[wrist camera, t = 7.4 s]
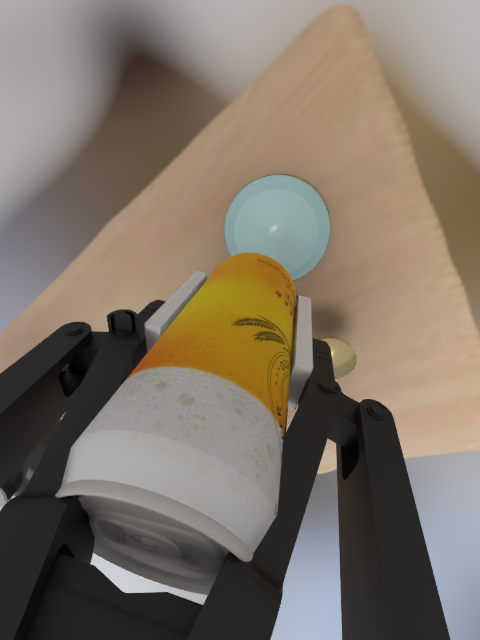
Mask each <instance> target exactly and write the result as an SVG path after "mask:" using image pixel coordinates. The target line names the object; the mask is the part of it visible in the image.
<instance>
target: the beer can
mask: <svg viewBox="0 0 480 640" xmlns="http://www.w3.org/2000/svg"><path fill="white" fill-rule="evenodd" d="M295 303H296V290H295V285H294V282H293V280H292V278H291V276H290V274H289V273H288V271H287V270H286V269H285V268H284V267H283V266H282V265H281V264H280V263H279V262H277V261H276V260H274V259H272V258H270V257H268V256H266V255H263V254H258V253H240V254H236V255H233V256H231V257H229V258H227V259H225V260H224V261H223V262H222V263H220V264H219V266H218V267H217V268H216V269H215V270H214V272H213V273H212V274H211V275H210V276H209V278H208V279H207V280H206V281H205V283H204V284H203V285H202V286H201V288H200V289H199V290H198V291H197V292H196V294H195V295H194V296H193V297H192V299H191V300H190V301H189V302H188V304H187V305H186V306H185V307H184V309H183V310H182V311H181V312H180V313H179V315H178V316H177V317H176V318H175V320H174V321H173V322H172V323H171V325H170V326H169V327H168V328H167V329H166V331H165V332H164V333H163V334H162V336H161V337H160V338H159V339H158V341H157V342H156V343H155V344H154V346H153V347H152V348H151V349H150V350H149V352H148V353H147V354H146V355H145V357H144V358H143V359H142V360H141V362H140V363H139V364H138V365H137V366H136V368H135V369H134V370H133V371H132V373H131V374H130V375H129V376H128V378H127V379H126V380H125V381H124V383H123V384H122V385H121V386H120V387H119V389H118V390H117V391H116V392H115V394H114V395H113V396H112V397H111V399H110V400H109V401H108V402H107V403H106V405H105V406H104V407H103V408H102V410H101V411H100V412H99V413H98V415H97V416H96V417H95V418H94V420H93V421H92V422H91V423H90V424H89V426H88V427H87V428H86V429H85V431H84V432H83V433H82V434H81V436H80V437H79V438H78V439H77V440H76V442H75V443H74V444H73V446H72V447H71V450H70V454H69V457H68V461H67V465H66V469H65V473H64V477H63V481H62V485H61V488H60V489H59V491H58V492H57V493H56V495H55V496H56V497H57V498H62V497H65V496H71V495H80V496H79V498H78V501H80V503H81V505H82V507H83V509H85V510H86V512H87V514H88V517H89V524H90V526H91V528H92V531H93V535H94V536H95V541H94V549H93V553H95V554H96V555H98V556H100V557H102V558H104V559H105V560H107V561H109V562H111V563H113V564H115V565H117V566H119V567H121V568H123V569H126V570H128V571H130V572H132V573H135V574H137V575H139V576H142V577H144V578H147V579H150V580H152V581H155V582H158V583H161V584H164V585H167V586H171V587H174V588H177V589H181V590H185V591H189V592H194V593H199V594H205V595H208V594H209V592H210V590H211V588H212V586H213V584H214V582H215V580H216V578H217V575H218V573H219V571H220V569H221V567H222V565H223V563H224V561H225V559H226V557H227V555H228V553H229V551H230V552H232V553H233V554H234V555H235V556H236V557H238V558H239V559H240V560H242V561H244V562H249V561H251V560H252V558H253V553H254V552H255V550H256V549H257V547H258V545H259V544H260V542H261V540H262V539H263V537H264V535H265V534H266V532H267V531H268V529H269V527H270V526H271V524H272V522H273V521H274V519H275V517H276V516H277V511H278V499H279V487H280V474H281V462H282V450H283V438H284V436H285V434H286V425H287V412H288V398H289V384H290V371H291V357H292V343H293V330H294V316H295Z"/></svg>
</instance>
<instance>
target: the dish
mask: <svg viewBox="0 0 480 640" xmlns="http://www.w3.org/2000/svg"><path fill="white" fill-rule="evenodd" d="M224 233H225V241H226V246H227V249H228V251H229V254H230V256H233V255H236V254H240V253H258V254H263V255H266V256H268V257H270V258H272V259H274V260H276V261H277V262H279V263H280V264H281V265H282V266H283V267H284V268H285V269H286V270H287V271H288V273H289V274H290V276H291V278H292V280H296V279H298V278H300V277H302V276H304V275H305V274H307V273H308V272H309V271H311V270H312V269H313V268H314V267H315V266H316V265H317V263H318V262H319V261H320V260H321V258H322V256H323V254H324V253H325V250H326V248H327V245H328V241H329V236H330V220H329V215H328V211H327V208H326V206H325V204H324V201H323V200H322V198H321V197H320V195H319V194H318V193H317V191H316V190H315V189H314V188H313V187H312V186H310V185H309V184H308V183H306V182H305V181H303V180H301V179H299V178H296V177H293V176H289V175H270V176H266V177H263V178H260V179H258V180H256V181H254V182H252V183H250V184H249V185H247V186H246V187H245V188H244V189H242V190H241V191H240V192H239V194H238V195H237V196H236V197H235V199H234V200H233V202H232V203H231V205H230V207H229V210H228V212H227V216H226V220H225V228H224Z"/></svg>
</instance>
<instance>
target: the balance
mask: <svg viewBox="0 0 480 640" xmlns="http://www.w3.org/2000/svg"><path fill="white" fill-rule="evenodd" d="M297 300H298V296H296V303H297ZM296 303H295V306H296ZM318 340H322V341H326V342H327V344H328V345H329V347H330V348H331V354H332V355H331V356H332V362H333V370H334V378H335V379H336V378H340V377H343V376H345V375H347V374H349V373H350V372H351V371H352V370H353V368H354V367H355V365H356V354H355V351H354V349H353V347H352V346H351V345H350V344H349V343H348V342H346V341H344V340H342V339H339V338H335V337H324V338H320V339H318Z"/></svg>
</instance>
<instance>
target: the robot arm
mask: <svg viewBox="0 0 480 640" xmlns="http://www.w3.org/2000/svg"><path fill="white" fill-rule="evenodd" d="M206 280H207V273H204V272H200V271H195V272H194V273H193V274H192V275H191V276H190V277H189V278H188V279H187V280H186V281H185V282H184V283H183V285H182V286H181V287H180V288H179V289H178V290H177V291H176V292H175V293H174V294H173V295H172V296H171V297H170V298H169V299H168V300H167V301H162V300H156V301H153V302H151V303H149V304H148V305H147V306H146V307H145V309H143V310H142V311H141V312H140V313H139V314H138V315H137V313H136V312H134V311H132V310H116V311H113V312H111V313H109V314H108V315H107V321H108V328H109V332H93V331H92V330H91V326H90V325H89V324H87V323H85V322H72V323H68V324H65V325H63V326H62V327H60V328H59V329H58V330H56V331H55V332H54V333H52V334H51V335H50V336H49V337H47V338H46V339H45V340H43V341H42V342H41V343H39V344H38V345H37V346H36V347H34V348H33V349H32V350H30V351H29V352H28V353H27V354H25V355H24V356H23V357H21V358H20V359H19V360H18V361H16V362H15V363H14V364H12V365H11V366H10V367H8V368H7V369H6V370H5V371H3V372H2V373H1V374H0V507H2V506H3V508H2V509H1V511H0V640H270V639H271V635H272V632H273V629H274V625H275V622H276V619H277V615H278V611H279V608H280V604H281V599H282V590H283V588H282V587H283V581H284V578H285V574H286V571H287V568H288V565H289V561H290V558H291V555H292V552H293V548H294V545H295V542H296V539H297V535H298V532H299V529H300V526H301V522H302V519H303V516H304V513H305V510H306V506H307V503H308V500H309V497H310V493H311V490H312V487H313V484H314V481H315V477H316V474H317V471H318V468H319V464H320V461H321V458H322V455H323V451H324V448H325V445H326V442H327V438H328V439H330V440H332V441H333V442H335V443H336V449H337V482H338V513H339V545H340V578H341V611H342V640H450V637H449V633H448V629H447V625H446V621H445V617H444V613H443V609H442V605H441V601H440V598H439V594H438V590H437V586H436V583H435V578H434V575H433V570H432V566H431V563H430V559H429V555H428V551H427V547H426V543H425V539H424V536H423V531H422V527H421V524H420V520H419V516H418V512H417V508H416V504H415V500H414V496H413V492H412V488H411V485H410V481H409V477H408V473H407V469H406V465H405V461H404V457H403V453H402V449H401V446H400V442H399V438H398V434H397V430H396V426H395V422H394V418H393V416H392V414H391V412H390V411H389V410H388V409H387V407H385V406H384V405H383V404H381V403H380V402H378V401H375V400H372V399H364V400H362V401H361V402H360V403H359V402H357V401H355V400H353V399H351V398H349V397H347V396H346V395H344V394H343V393H342V392H341V388H340V386H339V384H338V383H337V382H336V381H335V378H334V370H333V362H332V356H331V355H332V354H331V348H330V347H329V345H328V344H327V342H326V341H322V340H318V339H314V338H312V318H311V298H309V297H305V296H300V295H299V296H298V300H297V303H296V306H295V316H294V330H293V343H292V357H291V371H290V384H289V398H288V408H292V409H296V407H297V404H298V409H297V411H296V413H295V415H294V417H293V420H292V422H291V424H290V426H289V428H288V430H287V432H286V434H285V436H284V438H283V450H282V462H281V474H280V487H279V499H278V511H277V516H276V517H275V519H274V521H273V522H272V524H271V526H270V527H269V529H268V531H267V532H266V534H265V535H264V537H263V539H262V540H261V542H260V544H259V545H258V547H257V549H256V550H255V552H254V553H253V558H252V560H251V561H249V562H244V561H242V560H240V559H239V558H238V557H236V556H235V555H234V554H233V553H232V552H230V551H229V553H228V555H227V557H226V559H225V561H224V563H223V565H222V567H221V569H220V571H219V573H218V575H217V578H216V580H215V582H214V584H213V586H212V588H211V590H210V592H209V594H208V596H207V598H206V600H205V603H204V605H201V604H198V603H196V602H193V601H190V600H187V599H185V598H182V597H179V596H176V595H173V594H171V593H168V592H155V593H124V592H122V591H121V590H120V589H119V588H118V587H117V586H116V585H114V583H112V582H111V581H110V580H109V579H108V578H107V577H106V576H105V575H104V574H103V573H102V572H100V570H98V569H97V568H96V567H95V566H94V565H91V564H90V563H91V559H92V555H93V549H94V541H95V536H94V535H93V531H92V528H91V526H90V524H89V517H88V514H87V512H86V510H85V509H83V507H82V505H81V503H80V501H78V498H79V496H80V495H71V496H65V497H62V498H57V497H56V496H55V495H56V493H57V492H58V491H59V489H60V488H61V485H62V481H63V477H64V473H65V469H66V465H67V461H68V457H69V454H70V450H71V447H72V446H73V444H74V443H75V442H76V440H77V439H78V438H79V437H80V436H81V434H82V433H83V432H84V431H85V429H86V428H87V427H88V426H89V424H90V423H91V422H92V421H93V420H94V418H95V417H96V416H97V415H98V413H99V412H100V411H101V410H102V408H103V407H104V406H105V405H106V403H107V402H108V401H109V400H110V399H111V397H112V396H113V395H114V394H115V392H116V391H117V390H118V389H119V387H120V386H121V385H122V384H123V383H124V381H125V380H126V379H127V378H128V376H129V375H130V374H131V373H132V371H133V370H134V369H135V368H136V366H137V365H138V364H139V363H140V362H141V360H142V359H143V358H144V357H145V355H146V354H147V353H148V352H149V350H150V349H151V348H152V347H153V346H154V344H155V343H156V342H157V341H158V339H159V338H160V337H161V336H162V334H163V333H164V332H165V331H166V329H167V328H168V327H169V326H170V325H171V323H172V322H173V321H174V320H175V318H176V317H177V316H178V315H179V313H180V312H181V311H182V310H183V309H184V307H185V306H186V305H187V304H188V302H189V301H190V300H191V299H192V297H193V296H194V295H195V294H196V292H197V291H198V290H199V289H200V288H201V286H202V285H203V284H204V283H205V281H206ZM66 365H67V366H66ZM65 366H66V367H65ZM65 412H66V413H65ZM64 413H65V415H64V417H63V419H62V420H61V419H60V418H61V417H62V415H63V414H64ZM13 495H14V496H16V497H15V498H12V499H10V498H11V497H12V496H13ZM9 499H10V500H9ZM8 500H9V501H8Z"/></svg>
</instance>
